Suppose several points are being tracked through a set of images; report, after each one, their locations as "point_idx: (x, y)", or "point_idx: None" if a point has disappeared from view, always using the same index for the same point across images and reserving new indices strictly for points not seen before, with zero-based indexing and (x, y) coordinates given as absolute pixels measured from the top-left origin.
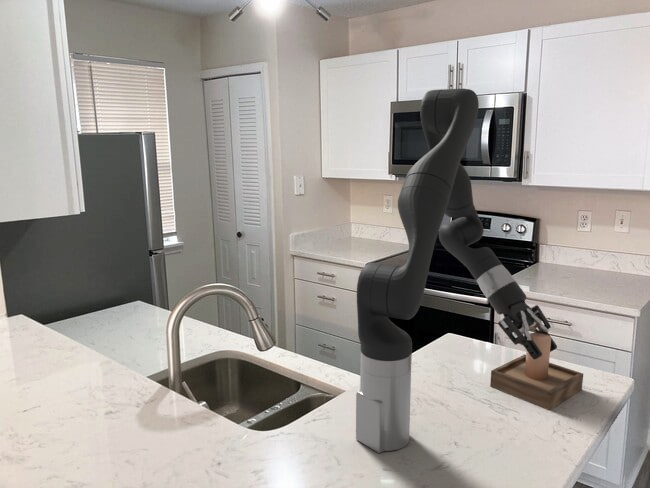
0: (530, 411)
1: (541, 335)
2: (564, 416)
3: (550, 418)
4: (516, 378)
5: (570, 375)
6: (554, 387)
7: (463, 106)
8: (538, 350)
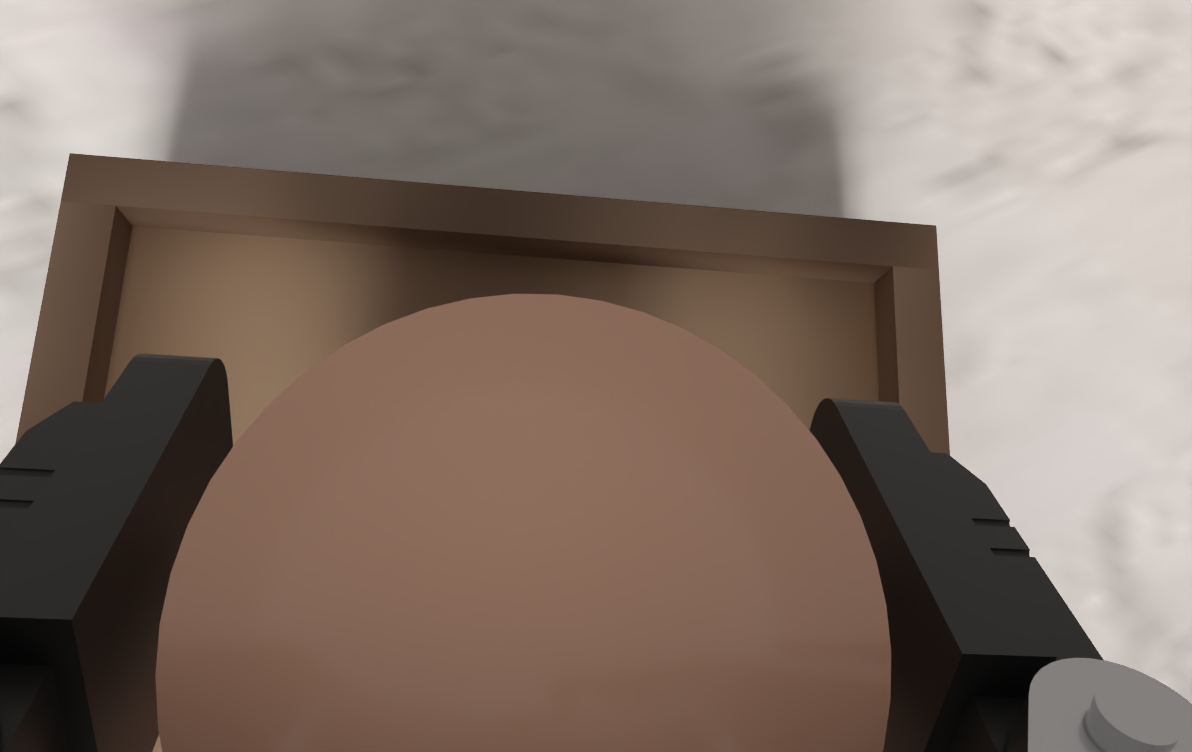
0: (999, 431)
1: (366, 648)
2: (833, 174)
3: (965, 246)
4: None
5: (153, 309)
6: (667, 311)
7: None
8: (911, 447)
